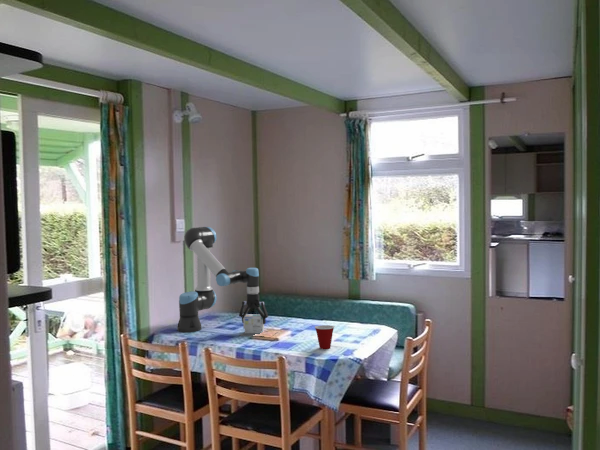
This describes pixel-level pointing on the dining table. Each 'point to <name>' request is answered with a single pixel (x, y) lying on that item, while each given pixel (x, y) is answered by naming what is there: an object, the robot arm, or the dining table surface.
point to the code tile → (246, 334)
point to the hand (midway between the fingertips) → (253, 328)
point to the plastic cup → (324, 336)
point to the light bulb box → (252, 324)
